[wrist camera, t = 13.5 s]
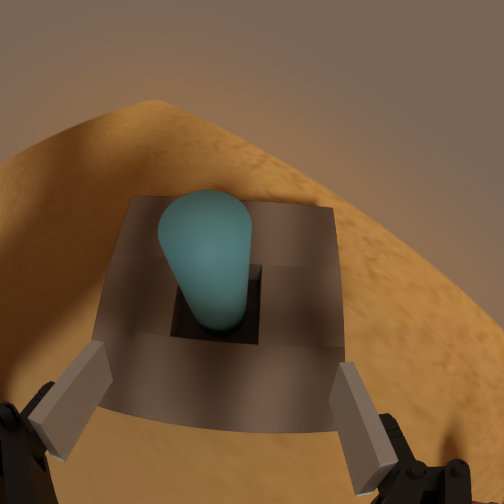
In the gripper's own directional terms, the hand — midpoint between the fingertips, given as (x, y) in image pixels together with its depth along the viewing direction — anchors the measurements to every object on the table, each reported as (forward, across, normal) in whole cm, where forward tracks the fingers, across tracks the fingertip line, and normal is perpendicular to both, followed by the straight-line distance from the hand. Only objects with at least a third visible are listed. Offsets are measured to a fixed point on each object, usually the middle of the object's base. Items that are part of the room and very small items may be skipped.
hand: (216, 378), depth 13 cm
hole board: (+10, -1, -1) cm, 10 cm away
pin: (+9, -1, -1) cm, 9 cm away
